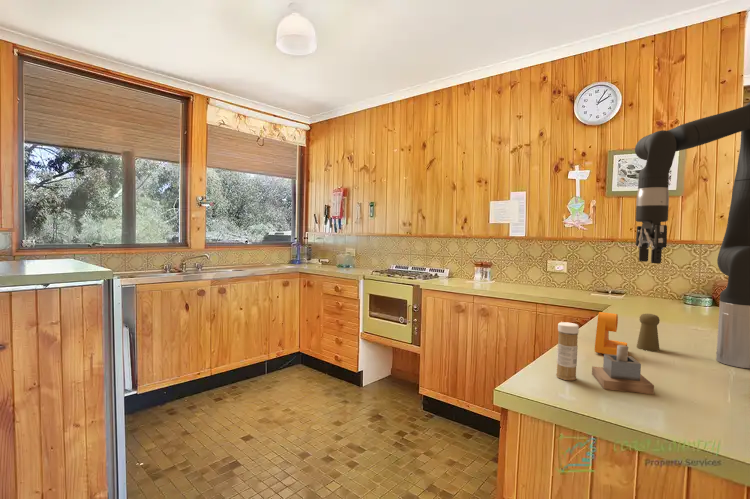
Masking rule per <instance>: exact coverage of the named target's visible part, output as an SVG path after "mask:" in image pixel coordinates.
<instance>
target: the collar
mask: <svg viewBox="0 0 750 499" xmlns="http://www.w3.org/2000/svg"><path fill="white" fill-rule="evenodd" d="M616 360H617V355H611V354H603V363H602V364H603V365H602V367H603V370H604V371H605V372H606V373H607V375H608V376H609V377H610V378H614V379H624V380H633V381H640V374H641V373H642V371H641V370H642V369H641V368H642V363H641V362H639V361H638V360H637V359H635V358H634V357H633V356H631V355H628V359H627V361H616Z"/></svg>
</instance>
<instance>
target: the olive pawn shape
mask: <svg viewBox="0 0 750 499" xmlns="http://www.w3.org/2000/svg"><path fill="white" fill-rule="evenodd" d="M660 320H661V319H660V317H659V316H658V315H656V314H653V313H641V314H640V315H639V323H640V329H639V333H638V338H637V343H636V348H637V349H639V350H641V349H643V351H646V350H647V352H660V342H659V340H660V339H659V333H658V332H659V331H658V325H659V324H660Z"/></svg>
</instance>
